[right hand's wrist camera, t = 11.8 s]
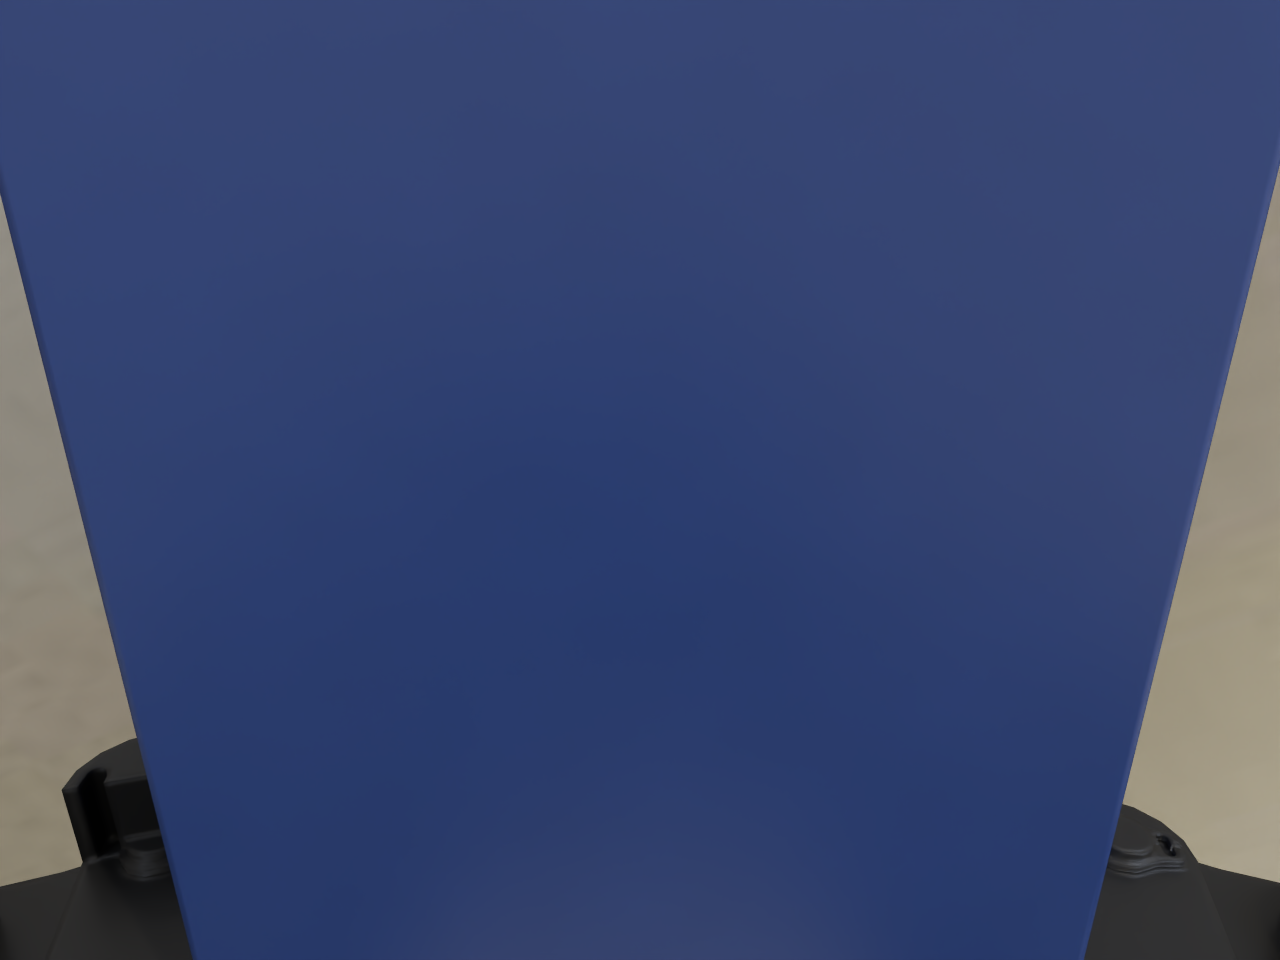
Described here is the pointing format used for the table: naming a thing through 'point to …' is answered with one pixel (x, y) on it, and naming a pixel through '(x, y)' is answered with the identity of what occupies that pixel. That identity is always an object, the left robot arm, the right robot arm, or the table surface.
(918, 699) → the bar
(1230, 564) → the table surface
